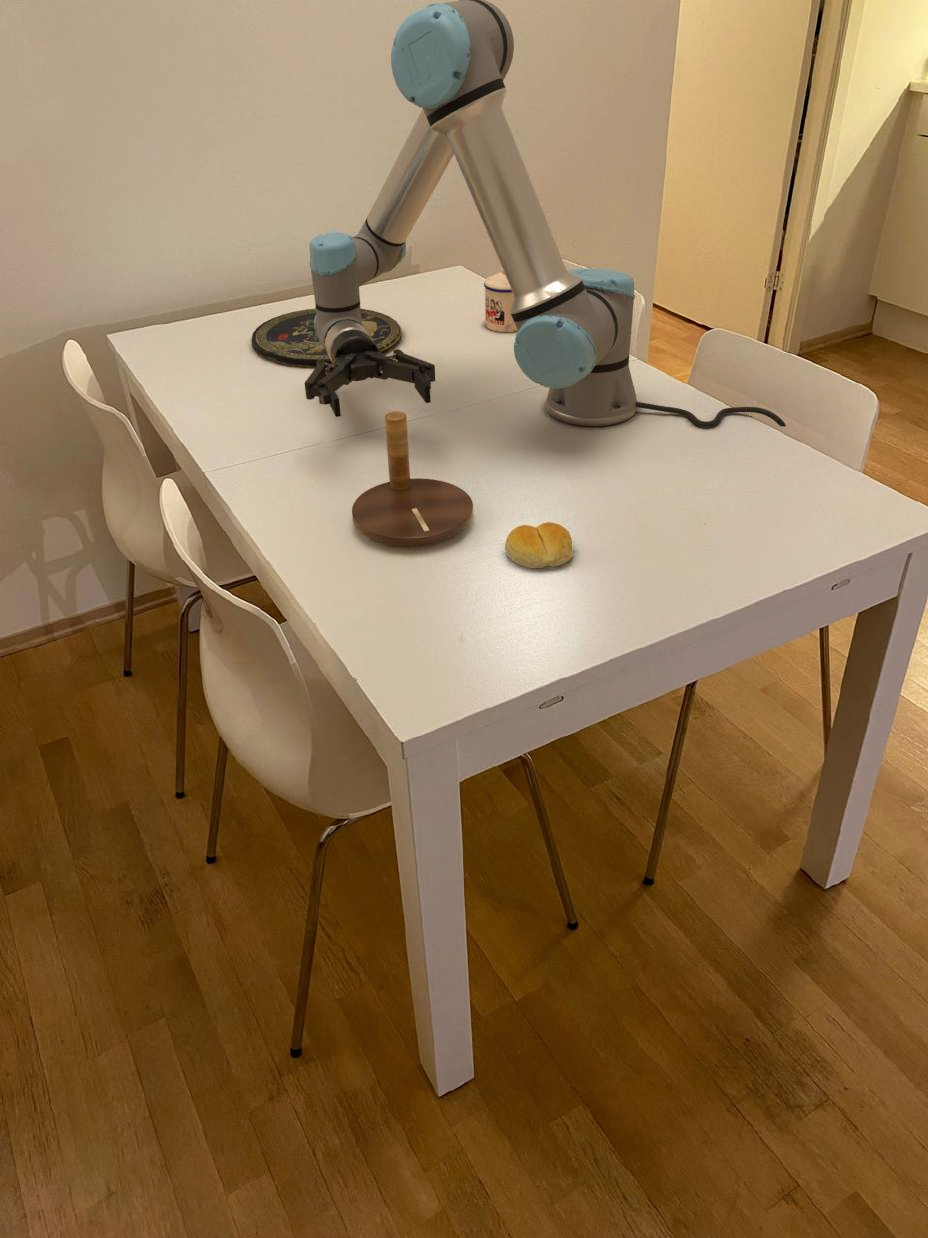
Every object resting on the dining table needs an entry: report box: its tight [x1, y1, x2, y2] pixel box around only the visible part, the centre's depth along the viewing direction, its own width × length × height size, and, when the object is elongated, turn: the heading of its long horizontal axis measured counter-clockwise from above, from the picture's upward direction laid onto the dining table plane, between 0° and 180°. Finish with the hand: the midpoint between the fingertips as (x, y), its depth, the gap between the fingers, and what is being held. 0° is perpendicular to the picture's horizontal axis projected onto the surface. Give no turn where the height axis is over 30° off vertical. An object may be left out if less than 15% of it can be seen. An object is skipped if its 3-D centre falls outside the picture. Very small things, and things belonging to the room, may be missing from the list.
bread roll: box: [504, 521, 575, 569], centre depth 134 cm, size 8×9×4 cm
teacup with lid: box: [483, 267, 518, 333], centre depth 202 cm, size 12×9×12 cm
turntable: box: [351, 410, 474, 546], centre depth 138 cm, size 17×17×12 cm
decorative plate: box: [250, 308, 403, 368], centre depth 202 cm, size 30×2×30 cm
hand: (383, 401), depth 147 cm, fingers open, 13 cm apart
